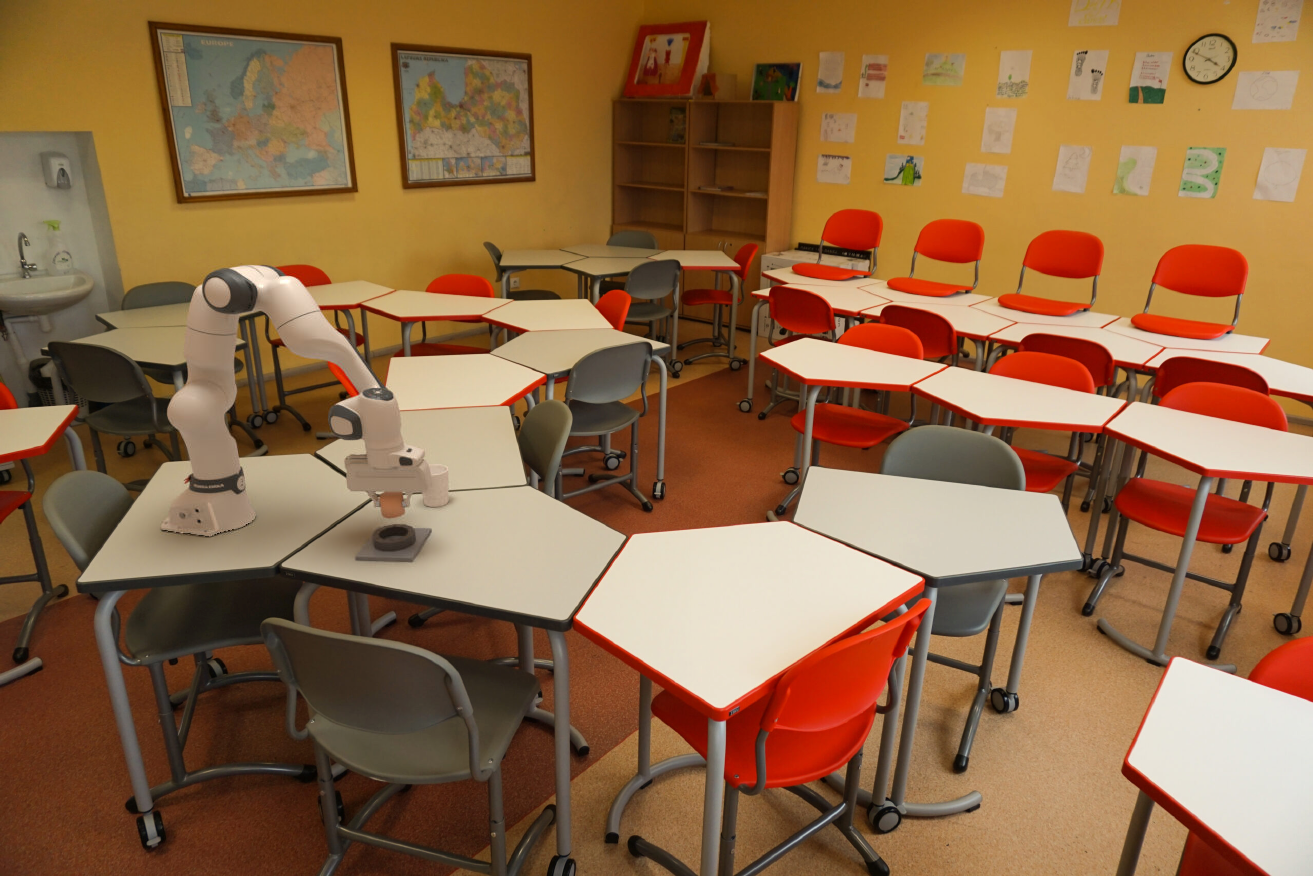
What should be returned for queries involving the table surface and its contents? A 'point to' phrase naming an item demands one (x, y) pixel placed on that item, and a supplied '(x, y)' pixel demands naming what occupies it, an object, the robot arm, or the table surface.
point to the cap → (391, 504)
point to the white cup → (437, 487)
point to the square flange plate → (394, 543)
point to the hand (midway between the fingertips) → (392, 506)
